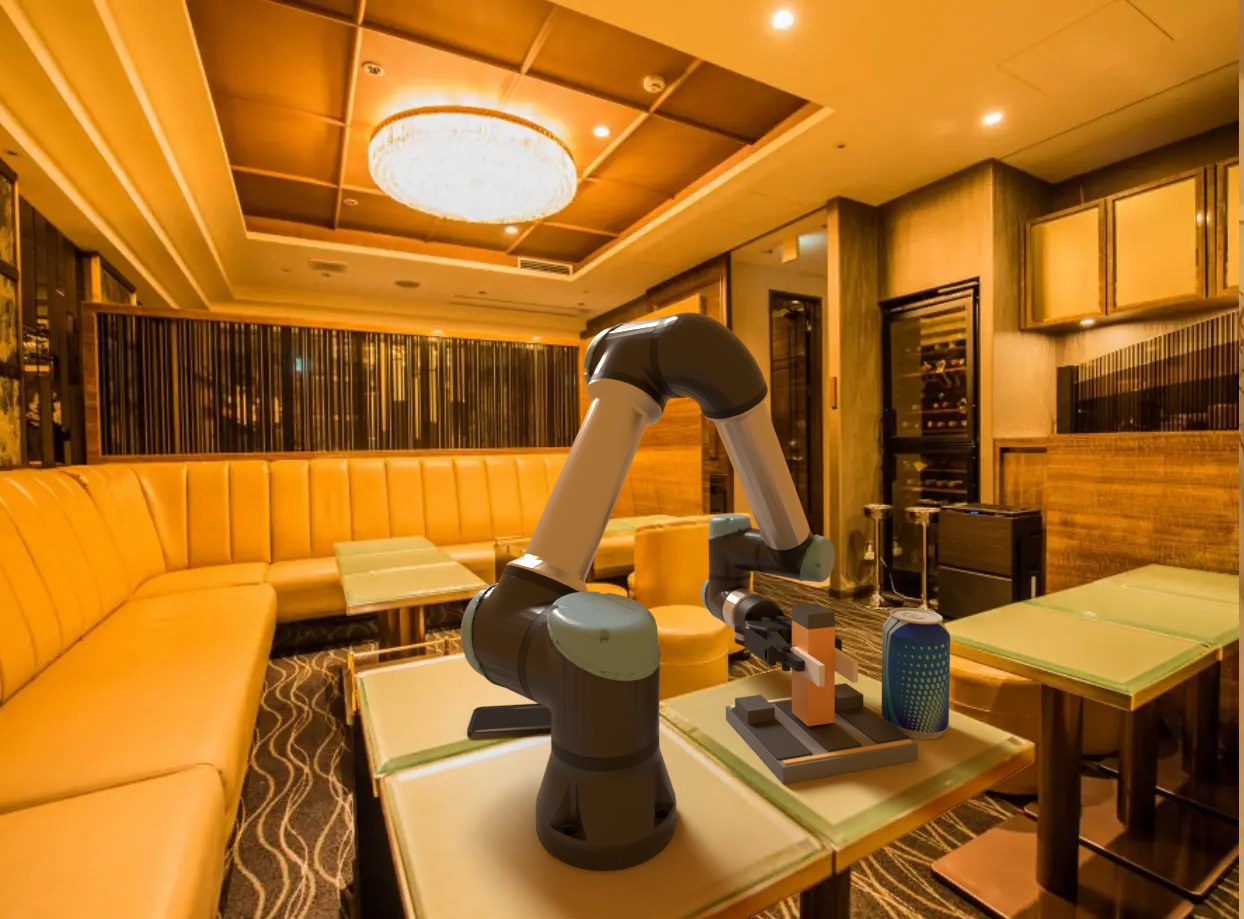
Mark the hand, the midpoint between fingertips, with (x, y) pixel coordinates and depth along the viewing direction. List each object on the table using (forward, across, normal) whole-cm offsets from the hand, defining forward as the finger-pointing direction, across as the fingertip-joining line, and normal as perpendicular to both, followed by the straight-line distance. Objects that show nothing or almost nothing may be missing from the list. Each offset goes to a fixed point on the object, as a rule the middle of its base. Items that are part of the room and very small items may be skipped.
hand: (838, 673), depth 73 cm
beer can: (-4, -15, -11) cm, 19 cm away
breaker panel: (-5, 0, -11) cm, 12 cm away
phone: (-20, +38, -12) cm, 45 cm away
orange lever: (-6, 0, -8) cm, 10 cm away
